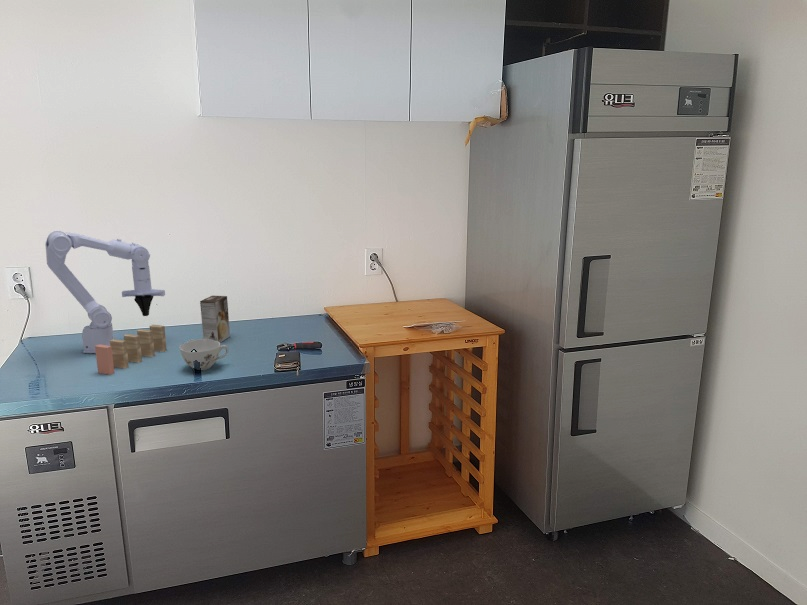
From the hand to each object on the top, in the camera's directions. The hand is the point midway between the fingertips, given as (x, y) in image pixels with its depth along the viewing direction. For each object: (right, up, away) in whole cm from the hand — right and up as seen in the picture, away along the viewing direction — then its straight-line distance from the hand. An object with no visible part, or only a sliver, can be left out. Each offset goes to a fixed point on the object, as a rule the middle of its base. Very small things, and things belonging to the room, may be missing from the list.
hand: (146, 315), depth 226 cm
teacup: (+29, -17, -22) cm, 40 cm away
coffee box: (+24, -9, +6) cm, 27 cm away
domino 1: (+1, -16, -22) cm, 27 cm away
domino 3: (+5, -14, -11) cm, 18 cm away
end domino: (-1, -18, -27) cm, 33 cm away
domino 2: (+3, -15, -16) cm, 22 cm away
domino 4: (+7, -12, -6) cm, 15 cm away
